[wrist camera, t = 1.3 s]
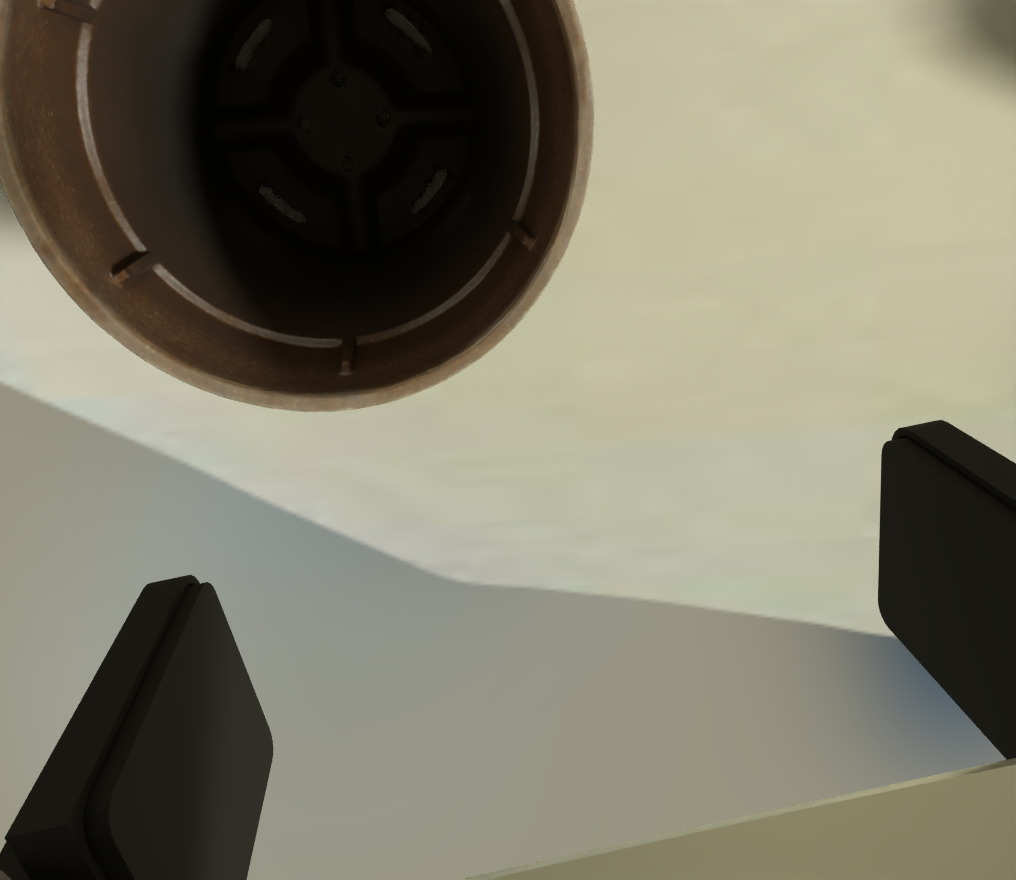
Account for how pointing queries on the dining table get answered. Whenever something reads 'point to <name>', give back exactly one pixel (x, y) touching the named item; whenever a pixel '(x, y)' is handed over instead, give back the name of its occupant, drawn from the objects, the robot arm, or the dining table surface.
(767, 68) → the dining table surface
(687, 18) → the dining table surface
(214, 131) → the plant pot
